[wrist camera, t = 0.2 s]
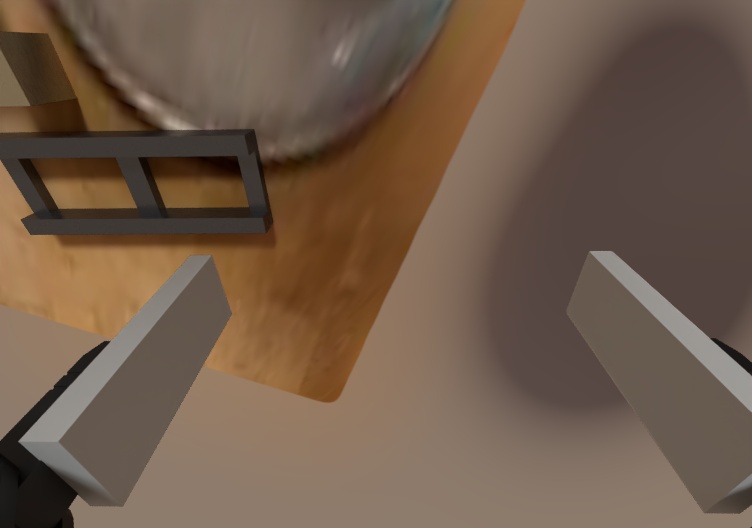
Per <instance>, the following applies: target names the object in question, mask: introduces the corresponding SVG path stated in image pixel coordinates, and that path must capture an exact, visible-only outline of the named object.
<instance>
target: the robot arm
mask: <svg viewBox="0 0 752 528" xmlns="http://www.w3.org/2000/svg"><path fill="white" fill-rule="evenodd" d="M566 313H567V315H568V316H569V317H570V319H571V321H572V322H573V323H574V325H575V326H576V328H577V329H578V331H579V332H580V334H581V335H582V336H583V338H584V339H585V341H586V342H587V344H588V345H589V347H590V348H591V350H592V351H593V352H594V354H595V355H596V357H597V358H598V360H599V361H600V363H601V364H602V365H603V367H604V368H605V370H606V371H607V373H608V374H609V376H610V377H611V379H612V380H613V381H614V383H615V384H616V386H617V387H618V389H619V390H620V392H621V393H622V395H623V396H624V397H625V399H626V400H627V402H628V403H629V405H630V406H631V408H632V409H633V410H634V412H635V413H636V415H637V416H638V418H639V419H640V421H641V422H642V424H643V425H644V426H645V428H646V429H647V431H648V432H649V434H650V435H651V437H652V438H653V440H654V441H655V443H656V444H657V445H658V447H659V448H660V450H661V451H662V453H663V454H664V456H665V457H666V458H667V460H668V461H669V463H670V464H671V466H672V467H673V469H674V470H675V472H676V473H677V474H678V476H679V477H680V479H681V480H682V481H683V483H684V485H685V486H686V488H687V489H688V490H689V492H690V493H691V495H692V496H693V498H694V499H695V501H696V502H697V504H698V505H699V506H700V508H701V509H702V511H703V512H704V513H738V514H739V513H741V512H743V511H744V510H745V509H747V508H748V507H749V506H750V505H752V362H750V361H749V360H748V359H747V358H746V357H745V356H743V355H742V354H741V353H739V352H738V351H736V350H734V349H733V348H731V347H729V346H727V345H726V344H724V343H722V342H721V341H719V340H717V339H716V338H711V339H710V338H709V337H708V336H706V335H705V334H704V333H703V332H702V331H701V330H700V329H699V328H697V327H696V326H695V325H694V324H693V323H692V322H691V321H690V320H688V319H687V318H686V317H685V316H684V315H683V314H682V313H681V312H679V311H678V310H677V309H676V308H675V307H674V306H673V305H672V304H671V303H669V302H668V301H667V300H666V299H665V298H664V297H663V296H662V295H660V294H659V293H658V292H657V291H656V290H655V289H654V288H652V287H651V286H650V285H649V284H648V283H647V282H646V281H645V280H644V279H642V278H641V277H640V276H639V275H638V274H637V273H636V272H635V271H634V270H632V269H631V268H630V267H629V266H628V265H627V264H626V263H625V262H623V261H622V260H621V259H620V258H619V257H618V256H617V255H616V254H614V253H613V252H612V251H590V252H589V253H588V256H587V258H586V261H585V263H584V266H583V269H582V271H581V274H580V277H579V279H578V282H577V284H576V287H575V290H574V292H573V295H572V298H571V300H570V303H569V305H568V308H567V311H566ZM231 315H232V312H231V309H230V307H229V304H228V301H227V298H226V295H225V292H224V289H223V286H222V283H221V280H220V277H219V275H218V272H217V269H216V266H215V263H214V260H213V257H212V255H190V257H189V258H188V259H187V260H186V261H185V262H184V263H183V264H182V265H181V266H180V267H179V268H178V269H177V271H176V272H175V273H174V274H173V275H172V276H171V277H170V278H169V279H168V280H167V281H166V282H165V284H164V285H163V286H162V287H161V288H160V289H159V290H158V291H157V292H156V293H155V294H154V295H153V296H152V298H151V299H150V300H149V301H148V302H147V303H146V304H145V305H144V306H143V307H142V308H141V309H140V311H139V312H138V313H137V314H136V315H135V316H134V317H133V318H132V319H131V320H130V321H129V322H128V323H127V325H126V326H125V327H124V328H123V329H122V330H121V331H120V332H119V333H118V334H117V335H116V336H115V338H114V339H113V340H112V341H104V342H103V343H101V344H100V345H98V346H97V347H95V348H94V349H92V350H91V351H89V352H88V353H86V354H85V355H83V356H82V357H81V358H80V360H78V362H77V363H76V364H75V365H74V366H73V367H72V368H71V369H70V370H69V371H68V372H67V375H64V376H63V377H62V378H61V379H60V380H59V381H58V382H57V383H56V384H55V385H54V389H53V390H49V391H48V392H47V393H46V394H45V396H44V397H43V398H42V399H41V400H40V401H39V402H38V403H37V404H36V405H35V406H34V407H33V408H32V409H31V410H30V411H29V412H28V413H27V414H26V415H25V416H24V417H23V418H22V419H21V420H20V421H19V422H18V423H17V424H16V425H15V426H14V427H13V428H12V429H11V430H10V431H9V433H7V434H6V436H5V437H4V438H3V439H2V440H1V441H0V528H74V522H73V516H72V513H71V511H70V510H69V509H68V508H69V506H70V505H71V503H72V502H73V501H74V499H75V498H76V496H77V495H79V496H80V497H81V498H82V499H83V500H85V501H86V502H87V503H88V504H89V505H90V506H124V504H125V502H126V500H127V498H128V497H129V495H130V493H131V491H132V490H133V488H134V486H135V484H136V483H137V481H138V479H139V477H140V476H141V474H142V472H143V470H144V468H145V467H146V465H147V463H148V461H149V460H150V458H151V456H152V454H153V453H154V451H155V449H156V447H157V445H158V444H159V442H160V440H161V438H162V437H163V435H164V433H165V431H166V430H167V428H168V426H169V424H170V422H171V421H172V419H173V417H174V416H175V414H176V412H177V410H178V408H179V407H180V405H181V403H182V401H183V399H184V398H185V396H186V394H187V393H188V391H189V389H190V387H191V385H192V384H193V382H194V380H195V379H196V377H197V375H198V373H199V371H200V370H201V368H202V366H203V364H204V363H205V361H206V359H207V357H208V356H209V354H210V352H211V350H212V349H213V347H214V345H215V343H216V341H217V340H218V338H219V336H220V334H221V333H222V331H223V329H224V327H225V326H226V324H227V322H228V320H229V319H230V317H231ZM751 528H752V527H751Z"/></svg>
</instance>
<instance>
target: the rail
mask: <svg viewBox="0 0 752 528" xmlns="http://www.w3.org/2000/svg"><path fill="white" fill-rule="evenodd" d="M190 156H237V157H238V161H239V165H240V170H241V174H242V178H243V182H244V186H245V190H246V194H247V199H248V203H249V207H239V208H165V206H164V203H163V201H162V198H161V196H160V193H159V191H158V188H157V185H156V183H155V180H154V178H153V175H152V173H151V170H150V168H149V165H148V162H147V160H146V157H190ZM107 157H115V158H116V160H117V163H118V165H119V167H120V169H121V172H122V174H123V176H124V178H125V181H126V183H127V185H128V187H129V190H130V192H131V194H132V197H133V199H134V201H135V203H136V206H137V208H117V209H58V208H57V206H56V204H55V202H54V201H53V199H52V197H51V196H50V194H49V192H48V190H47V189H46V187H45V185H44V184H43V182H42V180H41V178H40V177H39V175H38V173H37V171H36V170H35V168H34V166H33V165H32V163H31V161H30V159H29V158H107ZM0 160H1V161H2V163H3V165H4V166H5V168H6V169H7V171H8V172H9V174H10V176H11V177H12V179H13V180H14V182H15V184H16V185H17V187H18V188H19V190H20V192H21V193H22V195H23V196H24V198H25V200H26V201H27V203H28V204H29V206H30V207H31V209H32V211H33V212H34V213H33V214H31V215H29V216H27V217H25V218H23V219H21V221H22V223H23V224H24V226H25V227H26V229H27V230H28V232H29V233H30V235H76V234H236V233H267V231H268V229H269V228H270V226H271V225H272V223H273V219H272V214H271V209H270V204H269V199H268V195H267V190H266V185H265V180H264V175H263V170H262V165H261V160H260V156H259V151H258V146H257V141H256V136H255V131H254V129H234V130H162V131H91V132H19V133H0Z"/></svg>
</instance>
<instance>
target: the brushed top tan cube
mask: <svg viewBox="0 0 752 528" xmlns="http://www.w3.org/2000/svg"><path fill="white" fill-rule="evenodd" d="M76 98H77V96H76V94H75V92H74V90H73V88H72V85H71V83H70V81H69V79H68V77H67V74H66V72H65V70H64V68H63V66H62V64H61V61H60V59H59V57H58V55H57V53H56V50H55V48H54V46H53V44H52V42H51V39H50V37H49V35H48V33H22V32H0V107H5V106H34V105H40V104H46V103H52V102H58V101H64V100H70V99H76Z"/></svg>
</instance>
